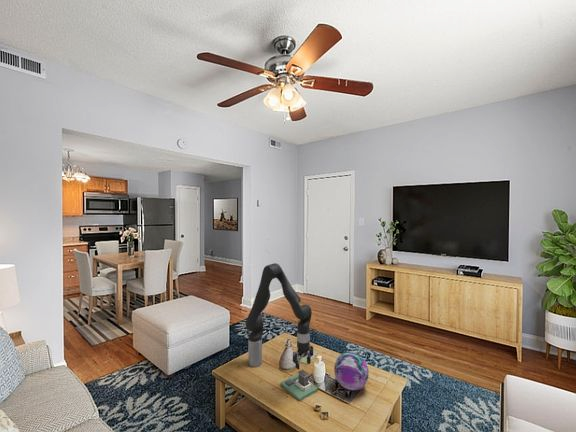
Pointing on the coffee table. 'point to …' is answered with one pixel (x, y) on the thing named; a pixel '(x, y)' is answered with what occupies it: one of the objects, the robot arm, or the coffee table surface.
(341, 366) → the decorative sphere
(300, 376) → the plug
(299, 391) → the header board
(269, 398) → the coffee table surface
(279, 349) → the coffee table surface
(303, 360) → the handheld gaming console
